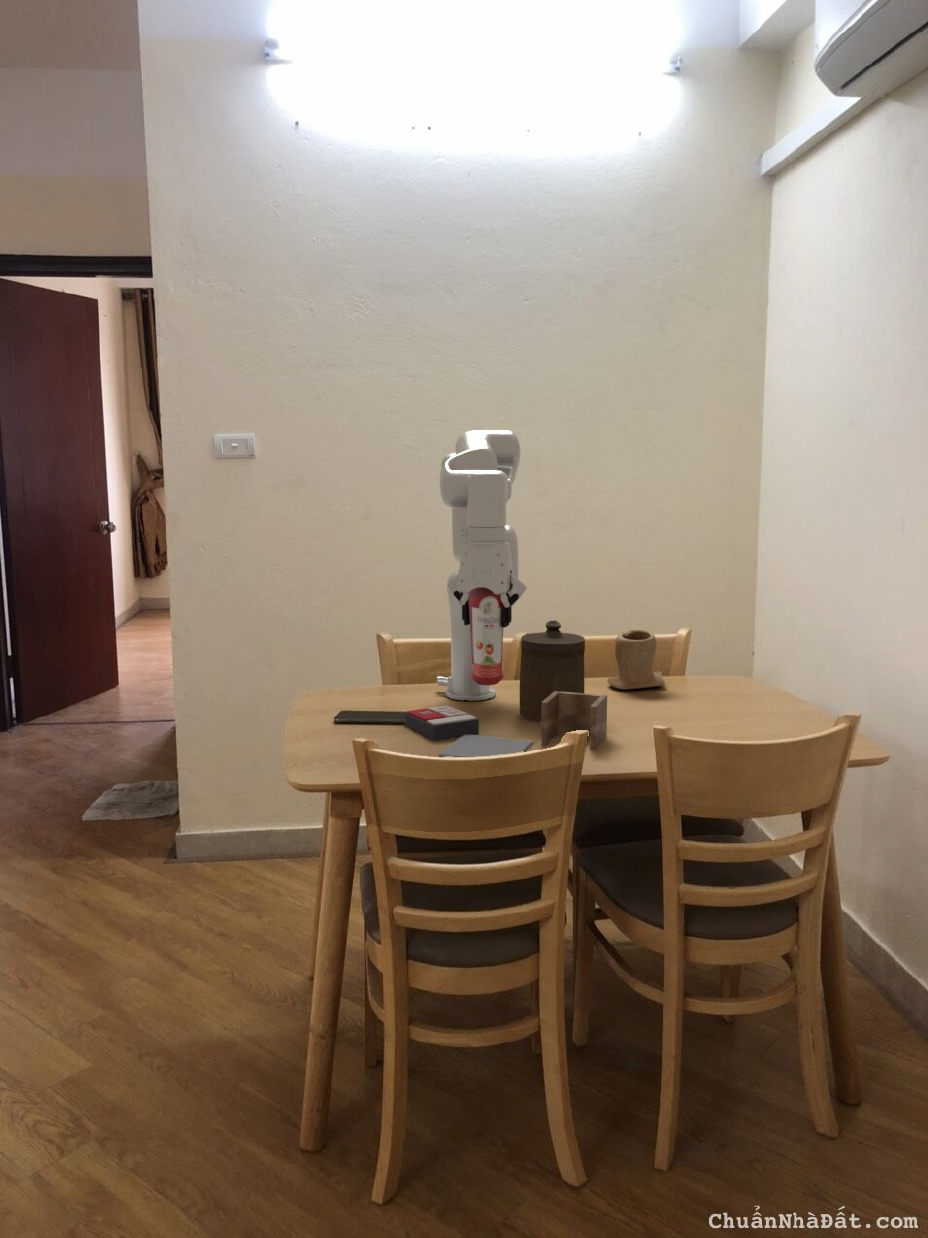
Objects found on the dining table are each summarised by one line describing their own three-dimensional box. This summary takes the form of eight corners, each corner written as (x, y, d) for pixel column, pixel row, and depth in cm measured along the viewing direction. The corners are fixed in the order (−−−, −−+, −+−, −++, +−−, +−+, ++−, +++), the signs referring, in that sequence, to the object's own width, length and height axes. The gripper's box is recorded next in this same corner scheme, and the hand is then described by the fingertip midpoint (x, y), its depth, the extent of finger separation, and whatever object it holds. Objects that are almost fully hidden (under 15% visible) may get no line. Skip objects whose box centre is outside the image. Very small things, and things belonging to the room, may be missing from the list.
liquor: (471, 687, 189) (470, 545, 184) (466, 679, 196) (464, 541, 191) (508, 686, 190) (508, 544, 185) (501, 677, 197) (501, 540, 192)
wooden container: (588, 709, 227) (589, 617, 223) (578, 725, 213) (580, 627, 209) (526, 705, 231) (527, 614, 227) (513, 721, 217) (513, 624, 213)
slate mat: (438, 756, 191) (438, 753, 191) (465, 736, 205) (465, 733, 204) (510, 764, 185) (510, 761, 185) (532, 743, 199) (532, 740, 199)
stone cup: (620, 695, 240) (621, 636, 238) (602, 684, 251) (603, 628, 249) (676, 691, 244) (678, 633, 241) (655, 681, 255) (657, 625, 253)
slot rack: (541, 744, 199) (541, 702, 197) (554, 731, 208) (554, 690, 207) (595, 750, 195) (596, 706, 193) (606, 736, 204) (607, 695, 203)
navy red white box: (447, 703, 219) (479, 715, 206) (448, 722, 220) (480, 735, 206) (403, 709, 214) (433, 722, 201) (404, 728, 215) (433, 742, 201)
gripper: (438, 536, 187) (438, 625, 190) (523, 538, 181) (523, 631, 184) (452, 533, 194) (452, 620, 197) (534, 535, 188) (534, 624, 191)
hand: (486, 624), depth 191 cm, fingers closed on liquor, 7 cm apart
